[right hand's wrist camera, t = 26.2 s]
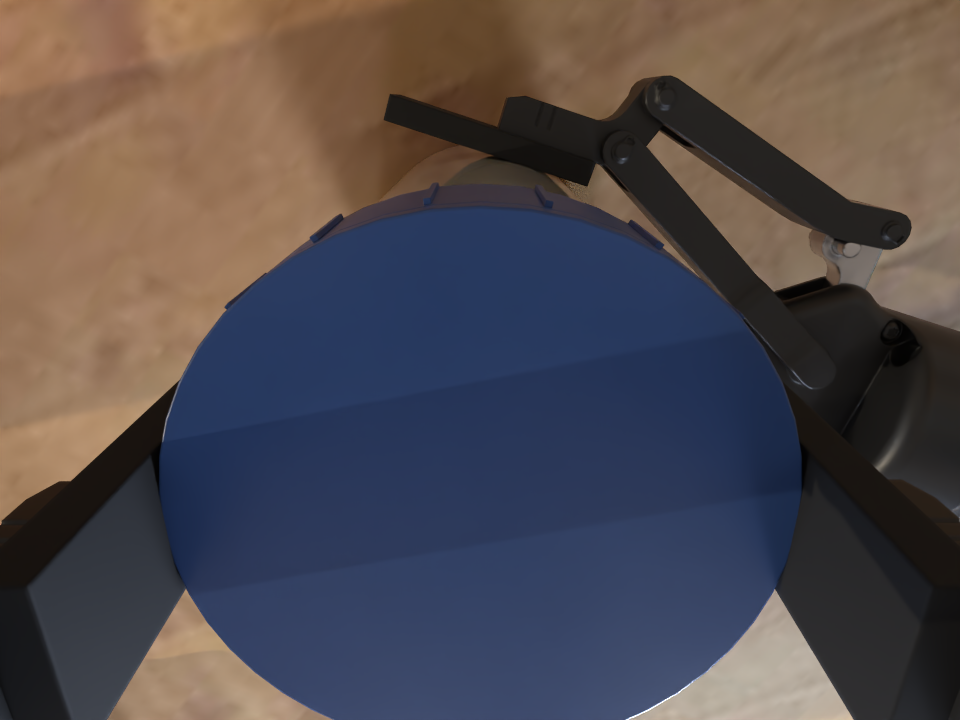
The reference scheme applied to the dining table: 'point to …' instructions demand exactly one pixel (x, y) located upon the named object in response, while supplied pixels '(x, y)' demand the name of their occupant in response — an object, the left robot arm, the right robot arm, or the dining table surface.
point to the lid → (480, 465)
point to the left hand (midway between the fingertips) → (356, 256)
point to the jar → (473, 173)
